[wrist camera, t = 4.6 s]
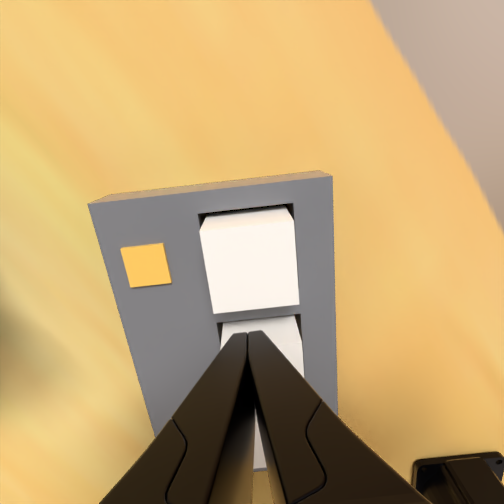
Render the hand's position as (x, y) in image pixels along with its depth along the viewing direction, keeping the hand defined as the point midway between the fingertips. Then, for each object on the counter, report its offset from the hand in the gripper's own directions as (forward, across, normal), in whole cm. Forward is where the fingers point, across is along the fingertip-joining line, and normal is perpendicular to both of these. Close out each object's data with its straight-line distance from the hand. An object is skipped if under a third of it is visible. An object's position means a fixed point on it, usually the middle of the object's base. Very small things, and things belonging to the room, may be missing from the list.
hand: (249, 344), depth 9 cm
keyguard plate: (+9, +1, +6) cm, 11 cm away
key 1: (+8, 0, 0) cm, 8 cm away
